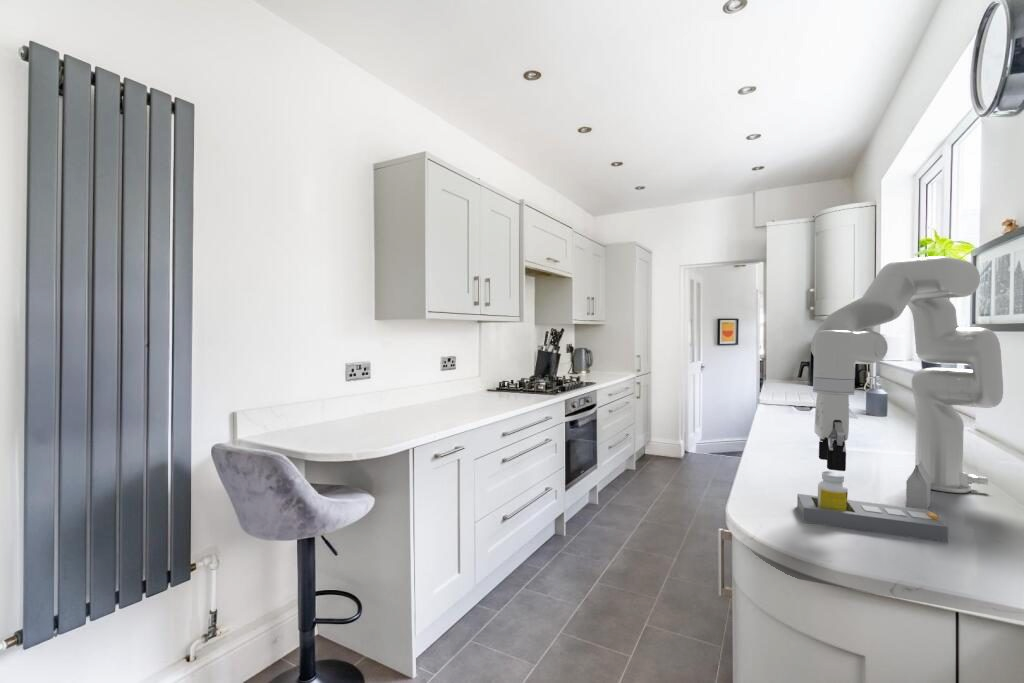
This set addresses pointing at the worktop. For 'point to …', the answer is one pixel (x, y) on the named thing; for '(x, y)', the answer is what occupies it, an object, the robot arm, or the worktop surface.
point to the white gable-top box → (918, 488)
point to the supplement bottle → (832, 491)
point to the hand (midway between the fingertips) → (831, 464)
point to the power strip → (875, 518)
